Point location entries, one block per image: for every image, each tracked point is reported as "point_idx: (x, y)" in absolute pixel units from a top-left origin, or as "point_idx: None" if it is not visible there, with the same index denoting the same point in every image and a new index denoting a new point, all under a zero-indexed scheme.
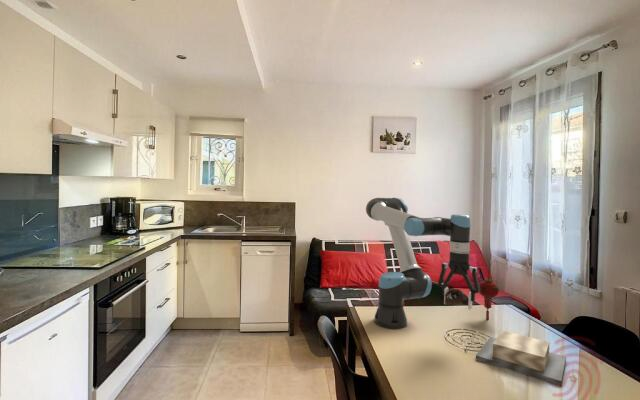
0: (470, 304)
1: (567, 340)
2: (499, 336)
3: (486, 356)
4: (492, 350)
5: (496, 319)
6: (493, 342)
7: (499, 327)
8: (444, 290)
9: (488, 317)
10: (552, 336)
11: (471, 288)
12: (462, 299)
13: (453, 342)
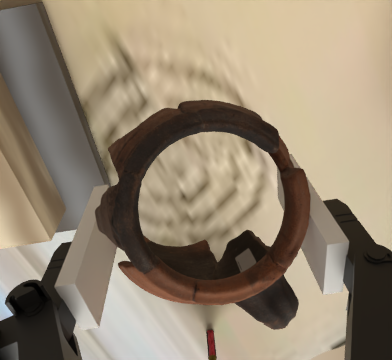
0: (85, 213)
1: None
2: (9, 177)
3: (6, 36)
4: (37, 118)
5: (192, 346)
6: (83, 189)
7: (157, 310)
8: (338, 227)
9: (207, 338)
10: None
11: (28, 348)
12: (112, 186)
13: (197, 92)
